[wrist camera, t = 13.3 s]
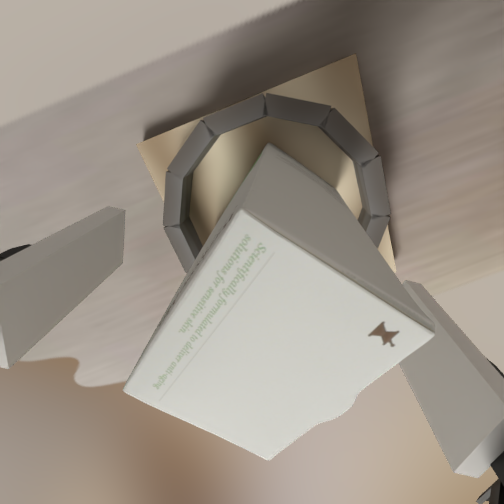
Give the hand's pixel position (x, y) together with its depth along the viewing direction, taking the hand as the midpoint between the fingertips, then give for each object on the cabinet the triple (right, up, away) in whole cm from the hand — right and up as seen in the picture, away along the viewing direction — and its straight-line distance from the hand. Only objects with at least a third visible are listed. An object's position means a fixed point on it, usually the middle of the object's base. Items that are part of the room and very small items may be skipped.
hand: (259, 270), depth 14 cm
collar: (+1, +5, +10) cm, 11 cm away
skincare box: (+1, +4, +9) cm, 10 cm away
